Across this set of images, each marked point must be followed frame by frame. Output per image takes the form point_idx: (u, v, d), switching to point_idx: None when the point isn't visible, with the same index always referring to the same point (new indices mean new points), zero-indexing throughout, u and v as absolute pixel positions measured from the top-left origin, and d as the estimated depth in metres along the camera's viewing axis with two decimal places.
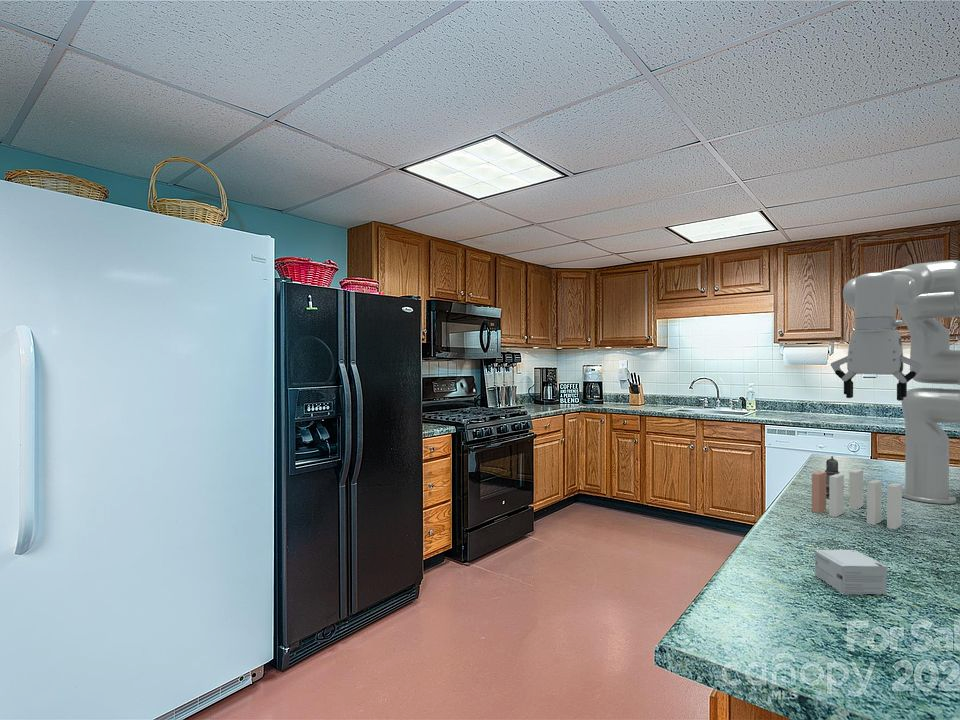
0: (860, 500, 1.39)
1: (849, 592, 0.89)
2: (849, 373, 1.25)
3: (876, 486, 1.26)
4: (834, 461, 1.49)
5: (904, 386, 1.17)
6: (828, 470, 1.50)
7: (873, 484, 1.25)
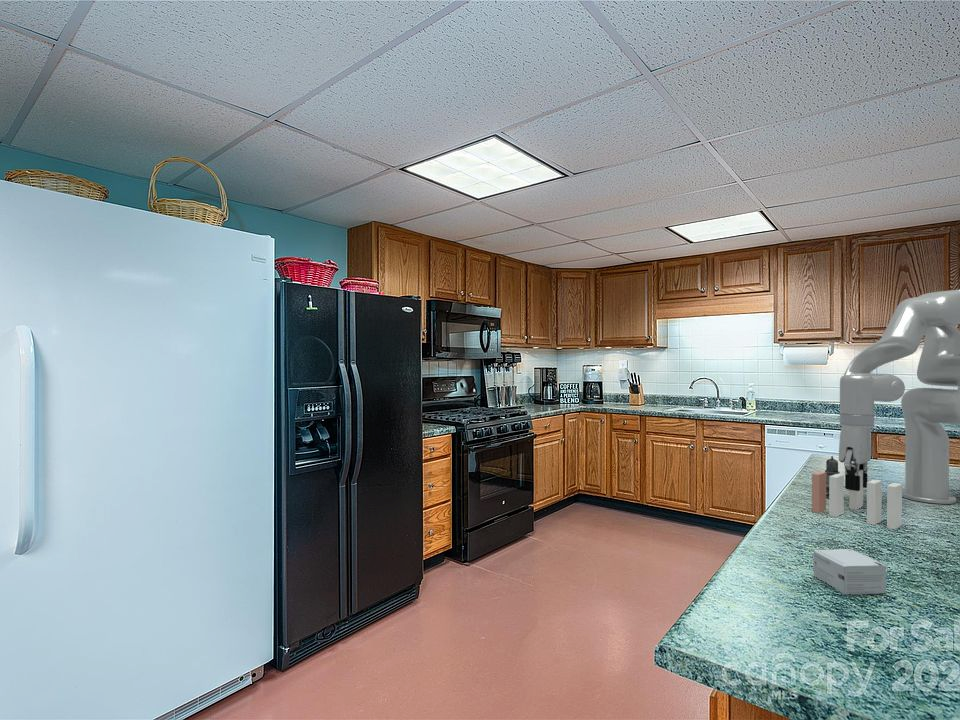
0: (860, 500, 1.39)
1: (851, 592, 0.88)
2: (858, 467, 1.37)
3: (876, 486, 1.26)
4: (834, 461, 1.49)
5: None
6: (828, 470, 1.50)
7: (873, 484, 1.25)
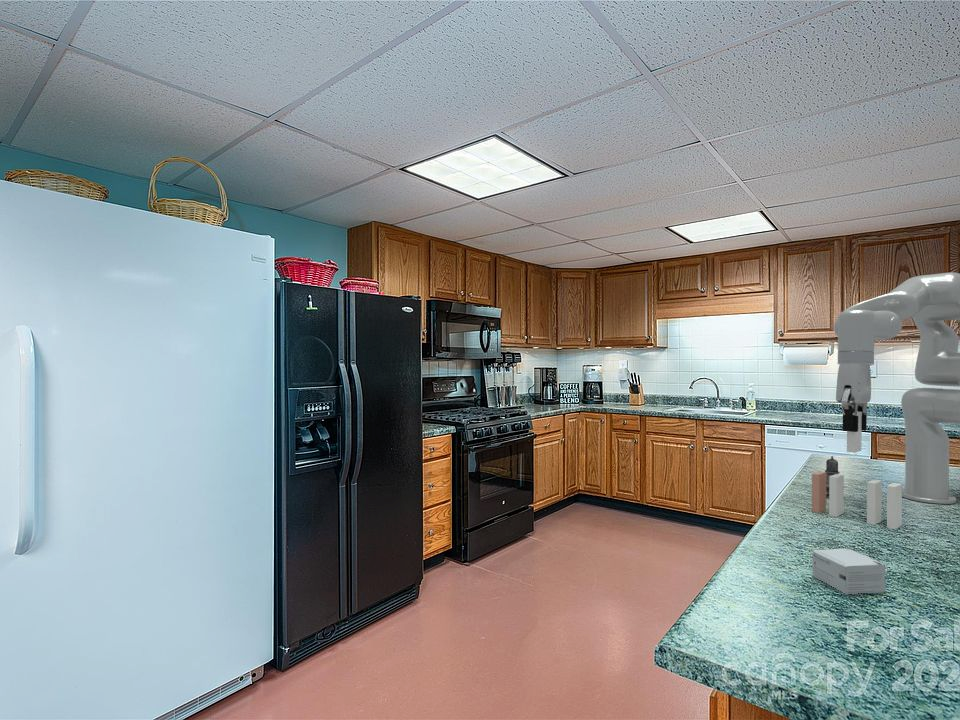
0: (858, 442, 1.31)
1: (852, 592, 0.88)
2: (856, 407, 1.29)
3: (876, 486, 1.26)
4: (834, 461, 1.49)
5: None
6: (828, 470, 1.50)
7: (873, 484, 1.25)
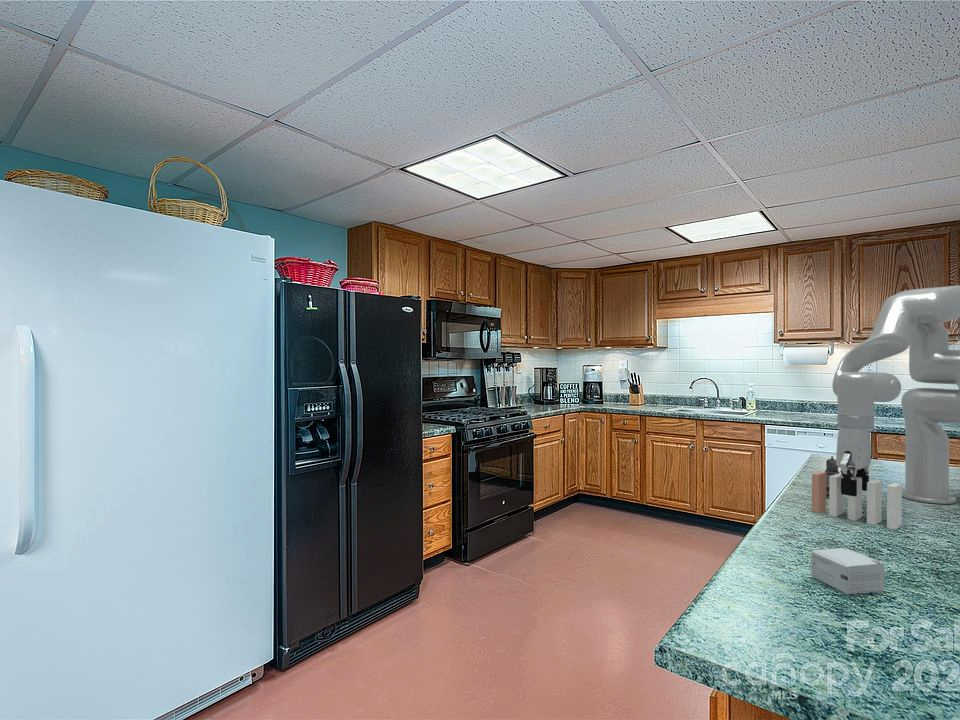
0: (859, 510, 1.30)
1: (853, 592, 0.88)
2: (855, 471, 1.27)
3: (876, 486, 1.26)
4: (834, 461, 1.49)
5: None
6: (828, 470, 1.50)
7: (873, 484, 1.25)
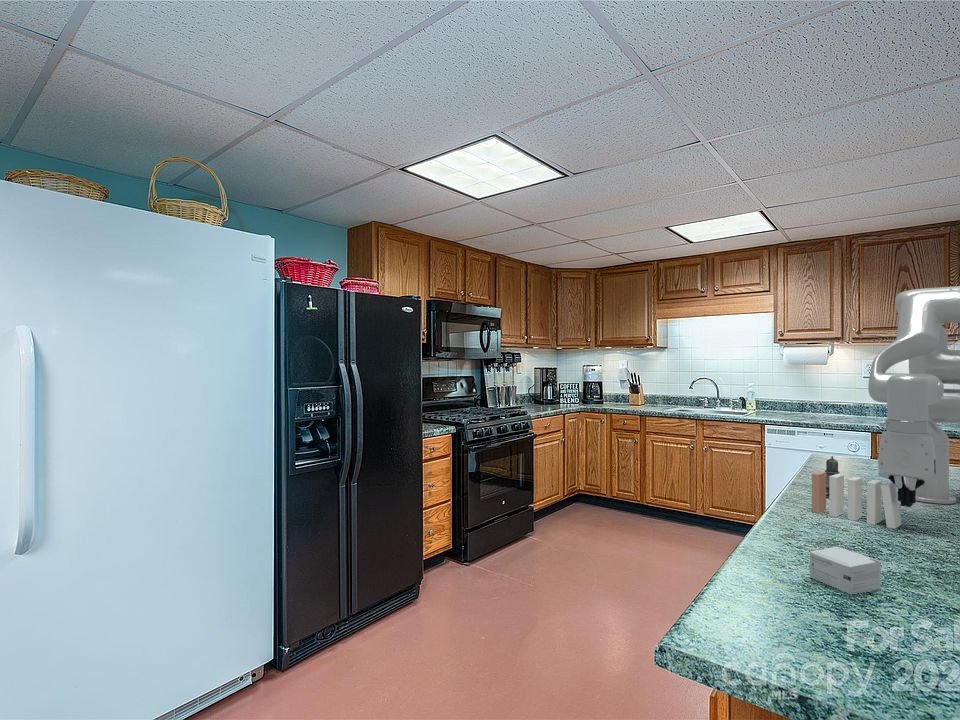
0: (859, 510, 1.30)
1: (856, 592, 0.89)
2: None
3: (876, 486, 1.26)
4: (834, 461, 1.49)
5: None
6: (828, 470, 1.50)
7: (873, 484, 1.25)
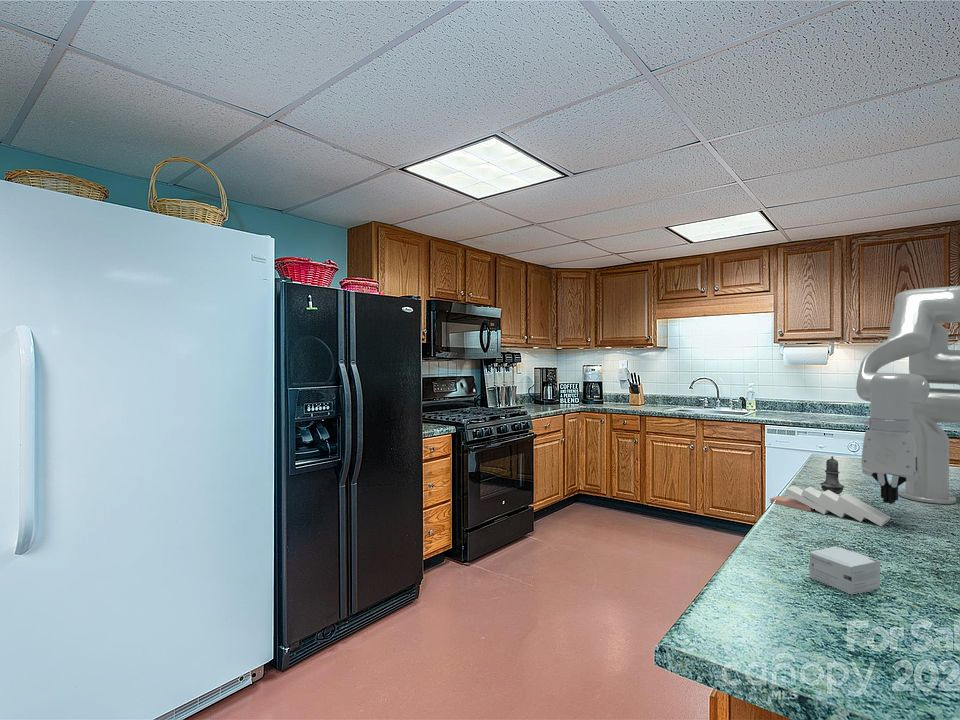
0: None
1: (856, 592, 0.89)
2: None
3: (826, 494, 1.34)
4: (834, 461, 1.49)
5: None
6: (828, 470, 1.50)
7: (821, 494, 1.34)
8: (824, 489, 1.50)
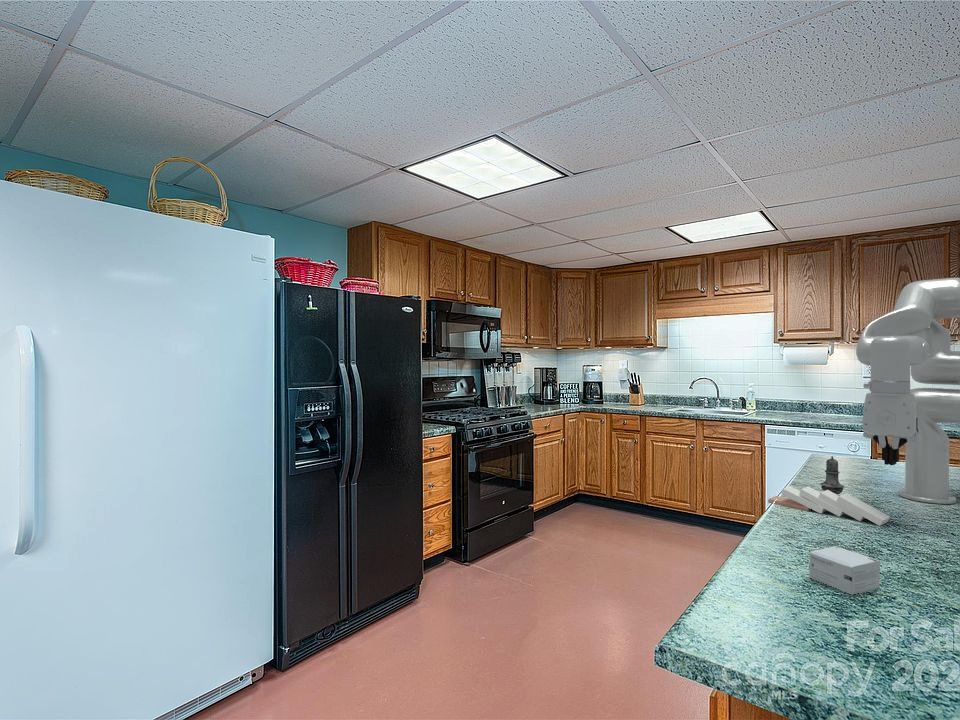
0: None
1: (856, 592, 0.89)
2: None
3: (825, 493, 1.35)
4: (834, 461, 1.49)
5: None
6: (828, 470, 1.50)
7: (821, 494, 1.35)
8: (824, 489, 1.50)
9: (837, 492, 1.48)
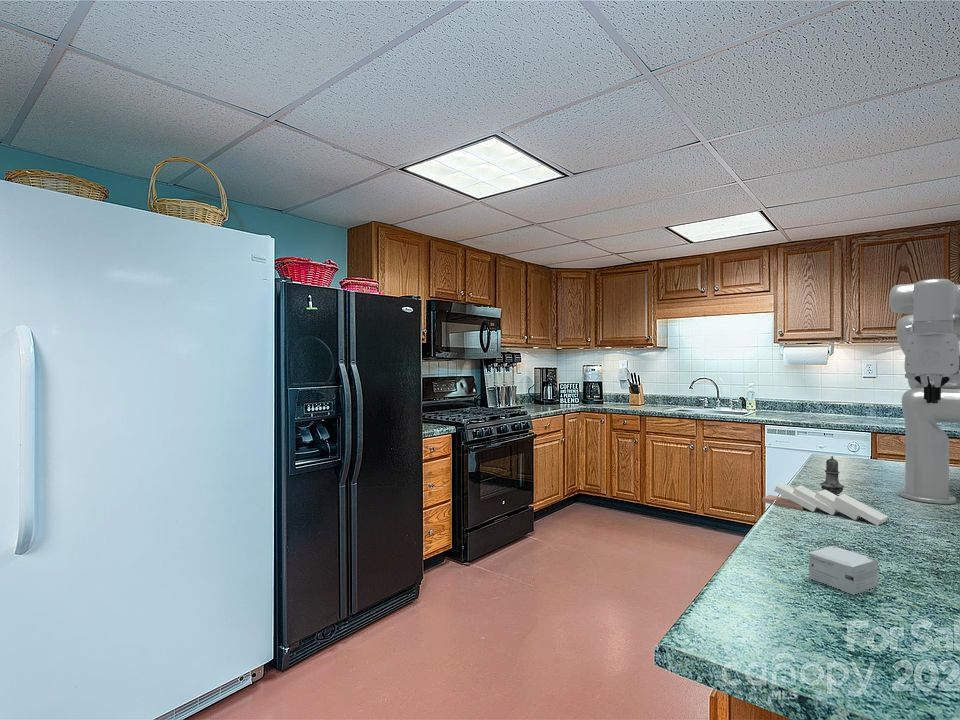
0: None
1: (857, 592, 0.89)
2: None
3: (822, 493, 1.36)
4: (834, 461, 1.49)
5: None
6: (828, 470, 1.50)
7: (817, 493, 1.36)
8: (824, 489, 1.50)
9: (837, 492, 1.48)
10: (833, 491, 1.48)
